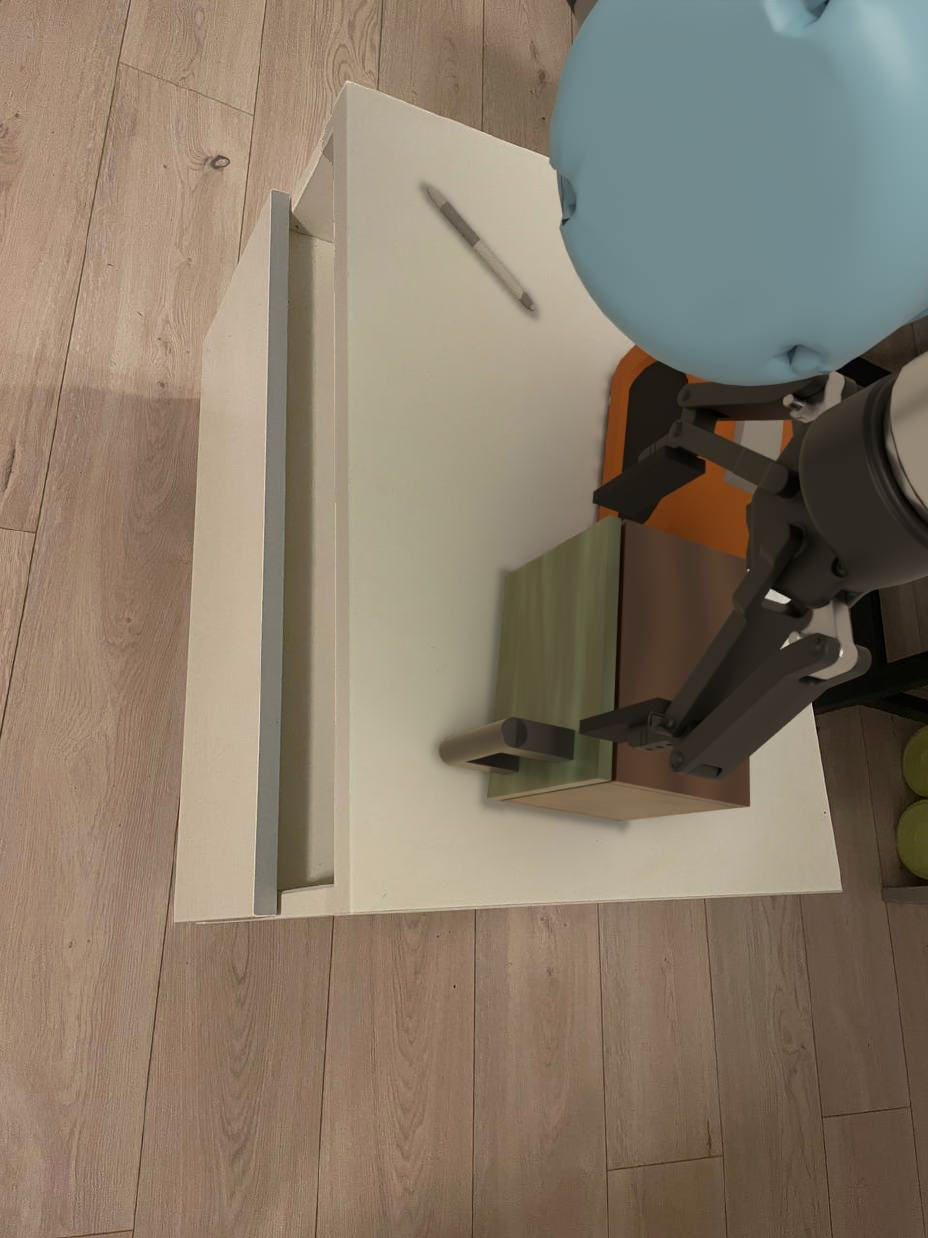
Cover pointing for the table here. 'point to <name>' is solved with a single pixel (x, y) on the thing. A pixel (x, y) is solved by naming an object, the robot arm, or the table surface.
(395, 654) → the table surface
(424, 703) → the table surface
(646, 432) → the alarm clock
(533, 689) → the cupboard door
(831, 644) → the robot arm
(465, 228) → the pen
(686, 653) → the cupboard
